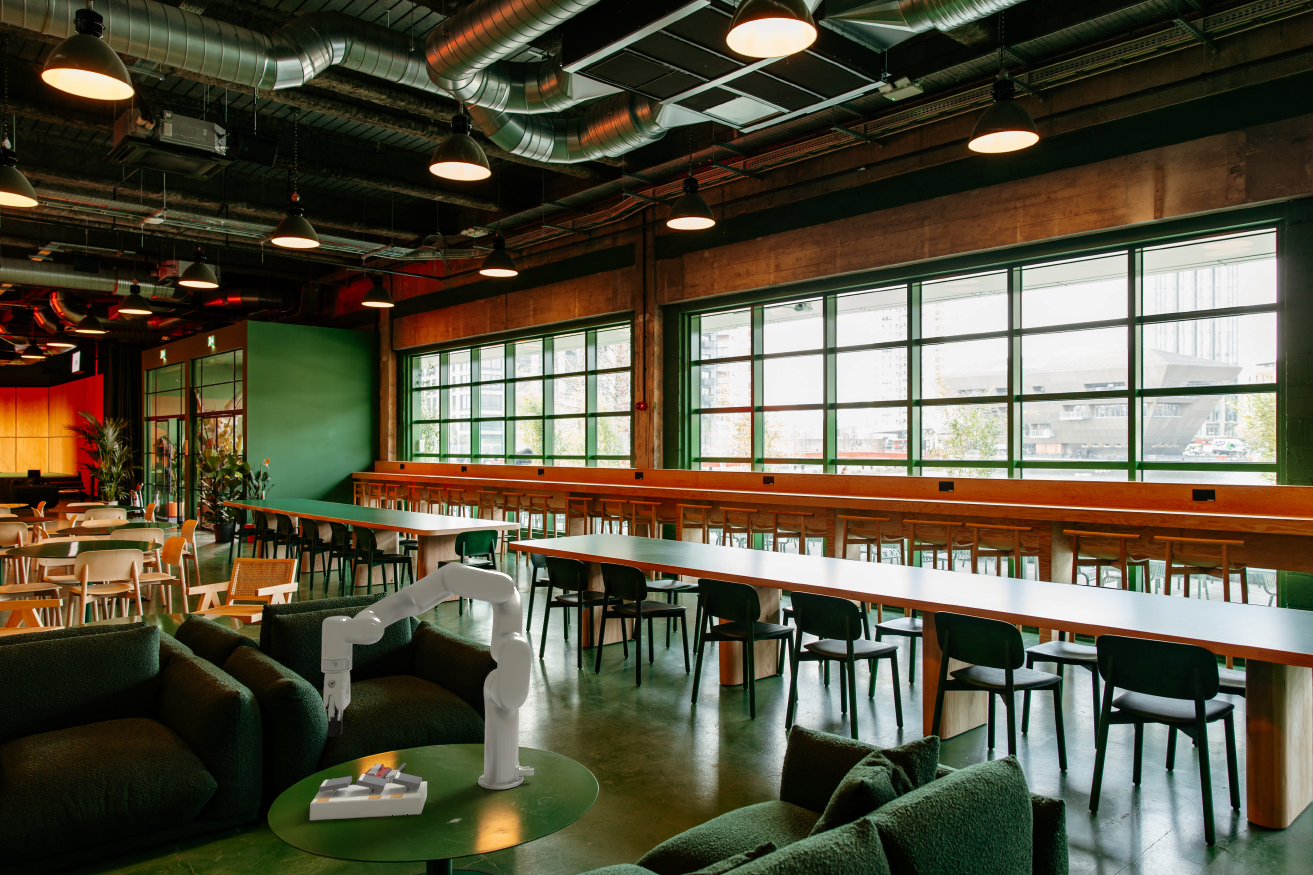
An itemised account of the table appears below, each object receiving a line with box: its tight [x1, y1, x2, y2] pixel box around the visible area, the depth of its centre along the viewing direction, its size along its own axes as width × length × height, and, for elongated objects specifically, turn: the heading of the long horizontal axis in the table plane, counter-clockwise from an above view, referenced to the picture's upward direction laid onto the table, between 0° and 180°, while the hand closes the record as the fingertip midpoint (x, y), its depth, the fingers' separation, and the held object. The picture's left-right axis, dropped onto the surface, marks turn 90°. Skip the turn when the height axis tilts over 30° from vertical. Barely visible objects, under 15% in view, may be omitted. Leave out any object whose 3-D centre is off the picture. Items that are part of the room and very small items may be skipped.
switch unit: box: [309, 780, 428, 821], centre depth 210 cm, size 27×12×5 cm, turn 99°
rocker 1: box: [318, 775, 353, 792], centre depth 209 cm, size 7×5×1 cm
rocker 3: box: [391, 771, 423, 789], centre depth 212 cm, size 7×5×1 cm
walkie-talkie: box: [355, 762, 407, 784], centre depth 231 cm, size 9×4×20 cm
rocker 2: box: [355, 773, 387, 791], centre depth 211 cm, size 7×5×1 cm
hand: (335, 735), depth 210 cm, fingers closed
